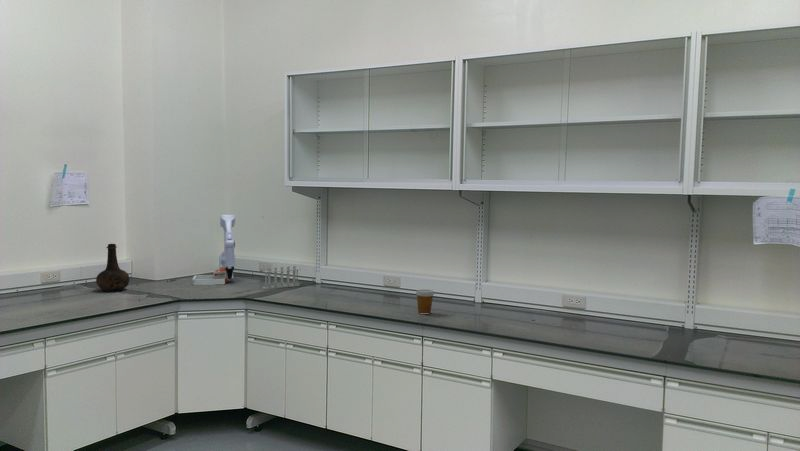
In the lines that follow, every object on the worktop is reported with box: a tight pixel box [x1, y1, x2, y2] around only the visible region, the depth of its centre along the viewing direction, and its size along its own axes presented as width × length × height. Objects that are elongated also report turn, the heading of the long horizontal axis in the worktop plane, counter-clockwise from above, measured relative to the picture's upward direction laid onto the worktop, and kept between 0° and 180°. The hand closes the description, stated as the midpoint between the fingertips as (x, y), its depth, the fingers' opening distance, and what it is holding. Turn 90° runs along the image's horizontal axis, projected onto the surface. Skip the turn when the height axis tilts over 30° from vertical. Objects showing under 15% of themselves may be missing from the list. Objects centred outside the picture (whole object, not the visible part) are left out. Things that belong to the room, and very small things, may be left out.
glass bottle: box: [95, 243, 131, 292], centre depth 349 cm, size 18×18×28 cm
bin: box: [191, 274, 226, 286], centre depth 385 cm, size 18×20×4 cm
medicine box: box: [213, 267, 228, 284], centre depth 387 cm, size 15×8×8 cm, turn 17°
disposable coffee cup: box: [415, 289, 435, 314], centre depth 307 cm, size 10×10×12 cm
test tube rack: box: [262, 265, 301, 290], centre depth 375 cm, size 25×4×13 cm, turn 128°
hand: (229, 278), depth 388 cm, fingers open, 7 cm apart
